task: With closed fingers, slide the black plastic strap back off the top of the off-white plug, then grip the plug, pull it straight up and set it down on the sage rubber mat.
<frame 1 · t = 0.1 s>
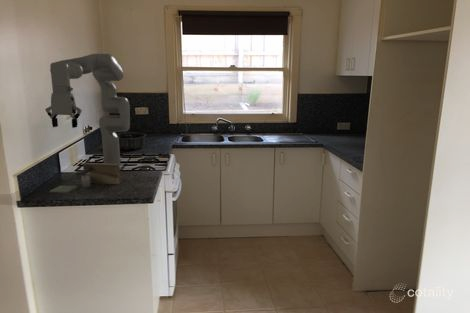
hand: (65, 127, 171), 31 cm above the worktop, tool pointing down, fingers open, 9 cm apart
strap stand: (102, 182, 190), on the worktop
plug: (86, 186, 184), on the worktop
bundt pan: (129, 148, 280), on the worktop
mat: (63, 189, 178), on the worktop
strap: (84, 171, 182), point 8 cm above the worktop, slide at 0.0 cm
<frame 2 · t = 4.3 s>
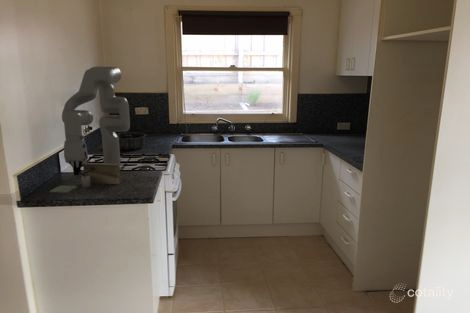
hand: (77, 174, 179), 7 cm above the worktop, tool pointing down, fingers closed
strap: (86, 171, 182), point 8 cm above the worktop, slide at 1.0 cm, touching gripper
everything else where it was.
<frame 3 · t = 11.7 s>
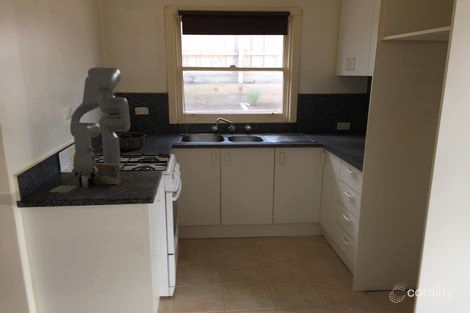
hand: (86, 185, 184), 1 cm above the worktop, tool pointing down, fingers closed on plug, 4 cm apart
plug: (86, 186, 184), on the worktop, touching gripper
strap: (107, 172, 180), point 8 cm above the worktop, slide at 11.9 cm
everything else where it was.
when the fingers open (3 cm above the worktop, at t = 16.9 s): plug drops 1 cm, resting on mat.
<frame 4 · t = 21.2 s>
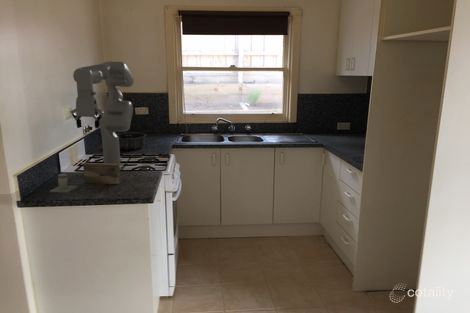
hand: (88, 127, 187), 28 cm above the worktop, tool pointing down, fingers open, 9 cm apart
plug: (63, 188, 178), point 1 cm above the worktop, touching mat
everything else where it was.
at the end: strap slide at 11.9 cm; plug 0.0 cm off-centre on the mat, point 0.6 cm above the mat's base; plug tilted 0° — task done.
